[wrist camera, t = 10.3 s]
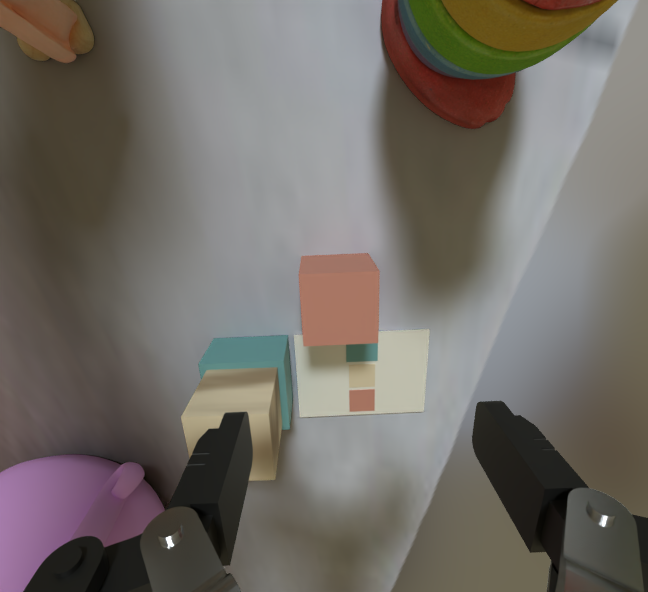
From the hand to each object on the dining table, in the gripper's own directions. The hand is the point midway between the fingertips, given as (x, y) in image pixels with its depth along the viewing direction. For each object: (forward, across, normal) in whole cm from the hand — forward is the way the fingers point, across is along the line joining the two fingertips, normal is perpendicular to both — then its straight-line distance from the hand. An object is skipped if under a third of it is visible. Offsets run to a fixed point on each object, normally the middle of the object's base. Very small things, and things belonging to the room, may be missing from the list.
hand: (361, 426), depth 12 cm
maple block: (+12, +7, +7) cm, 15 cm away
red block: (+16, 0, 0) cm, 16 cm away
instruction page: (+16, -2, +8) cm, 18 cm away
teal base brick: (+16, +7, +7) cm, 19 cm away
